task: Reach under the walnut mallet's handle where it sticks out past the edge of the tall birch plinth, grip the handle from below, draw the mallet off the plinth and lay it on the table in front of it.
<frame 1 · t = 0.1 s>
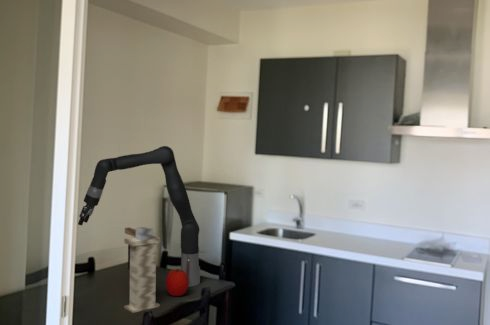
hand: (82, 223, 272), 31 cm above the table, tool tilted 20°, fingers open, 8 cm apart
coffee jar: (137, 269, 301), on the table
mallet: (136, 236, 241), point 32 cm above the table, touching birch plinth
birch plinth: (141, 307, 239), on the table
tomato: (176, 295, 257), on the table
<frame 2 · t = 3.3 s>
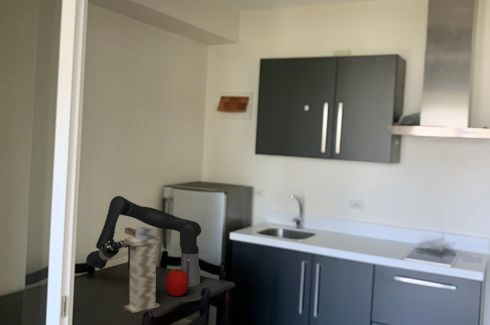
hand: (122, 240, 252), 27 cm above the table, tool pointing upward, fingers open, 8 cm apart
nothing on the table moved.
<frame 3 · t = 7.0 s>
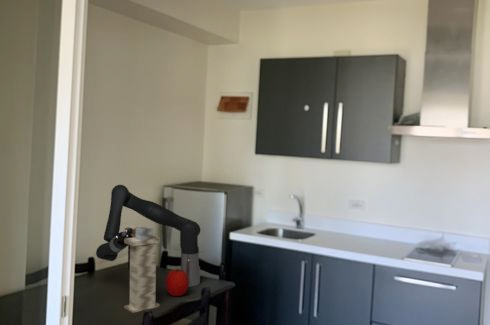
hand: (134, 229, 242), 35 cm above the table, tool pointing upward, fingers closed on mallet, 2 cm apart
mallet: (136, 236, 241), point 32 cm above the table, touching birch plinth, gripper
everything else where it was.
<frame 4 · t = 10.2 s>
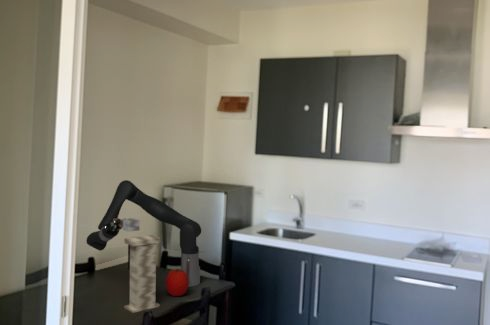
hand: (122, 220, 251), 37 cm above the table, tool pointing upward, fingers closed on mallet, 2 cm apart
mallet: (123, 226, 250), point 34 cm above the table, touching gripper
everything else where it was.
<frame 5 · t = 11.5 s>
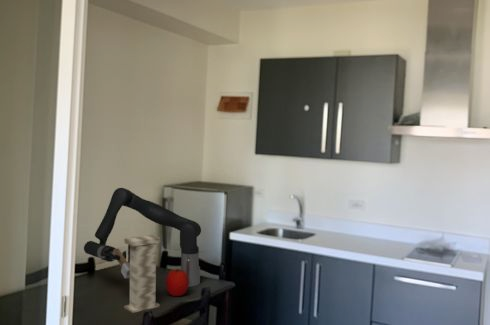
hand: (122, 257, 251), 19 cm above the table, tool horizontal, fingers closed on mallet, 2 cm apart
mallet: (122, 264, 251), point 16 cm above the table, tilted 26°, touching gripper
everything else where it was.
when the fingers open (10 cm above the table, at t = 13.5 s): mallet drops 7 cm, on the table.
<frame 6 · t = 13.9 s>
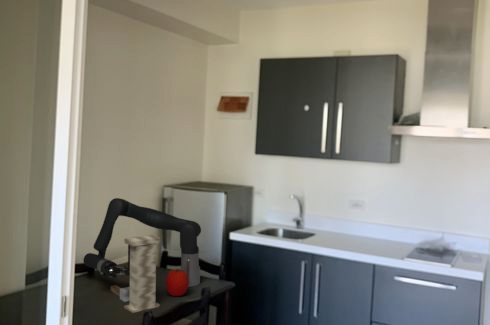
hand: (122, 274, 253), 11 cm above the table, tool horizontal, fingers open, 6 cm apart
mallet: (120, 295, 255), on the table
everything else where it was.
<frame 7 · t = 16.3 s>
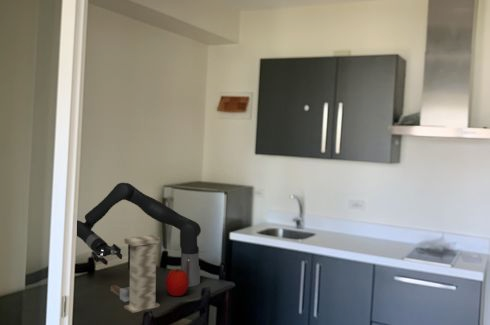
hand: (114, 260, 262), 15 cm above the table, tool tilted 70°, fingers open, 8 cm apart
nothing on the table moved.
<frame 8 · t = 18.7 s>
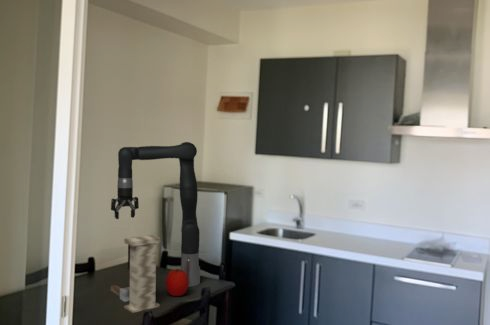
hand: (124, 218, 264), 36 cm above the table, tool pointing down, fingers open, 8 cm apart
nothing on the table moved.
at the end: mallet inside the target area (1.0 cm from its centre), on the table; mallet touching table; the gripper is holding nothing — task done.
